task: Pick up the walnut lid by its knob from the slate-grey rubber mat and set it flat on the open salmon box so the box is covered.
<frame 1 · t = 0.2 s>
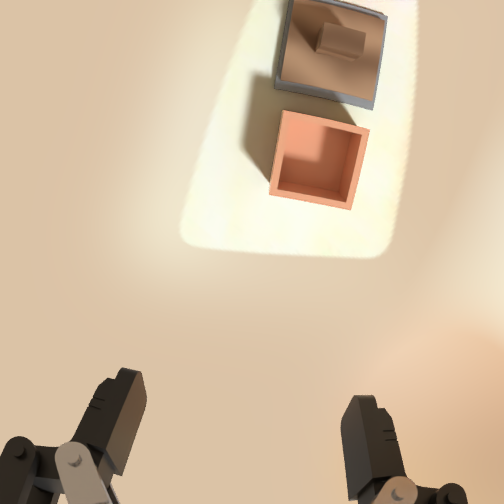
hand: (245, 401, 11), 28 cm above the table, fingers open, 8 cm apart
lid: (333, 47, 28), point 1 cm above the table, touching mat
mat: (332, 48, 29), on the table
open salmon box: (313, 153, 34), on the table
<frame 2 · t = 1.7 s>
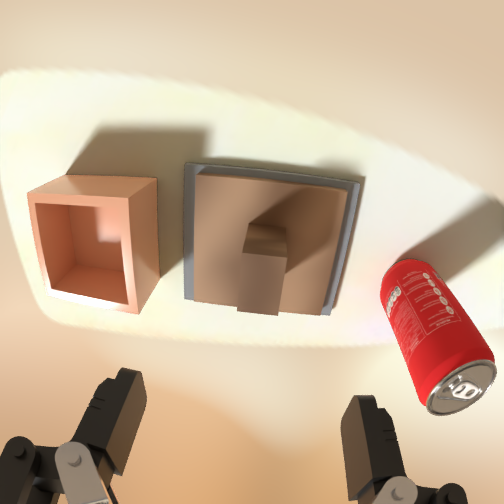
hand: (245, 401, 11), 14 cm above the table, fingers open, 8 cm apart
lid: (264, 246, 23), point 1 cm above the table, touching mat
mat: (264, 243, 24), on the table
open salmon box: (110, 226, 24), on the table
beverage can: (404, 280, 25), on the table
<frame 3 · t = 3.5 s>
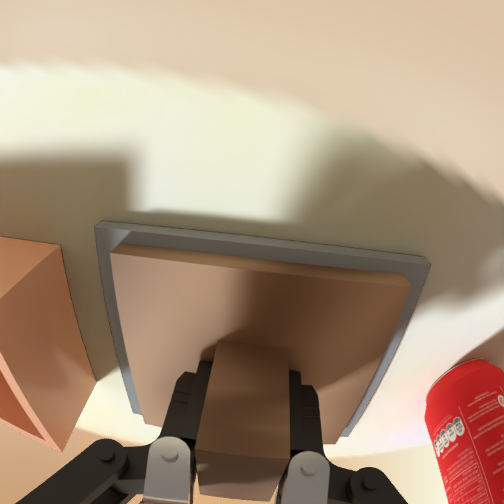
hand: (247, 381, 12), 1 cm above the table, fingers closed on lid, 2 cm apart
lid: (249, 365, 13), point 1 cm above the table, touching gripper, mat
mat: (250, 355, 13), on the table
open salmon box: (17, 308, 13), on the table
beverage can: (458, 383, 14), on the table
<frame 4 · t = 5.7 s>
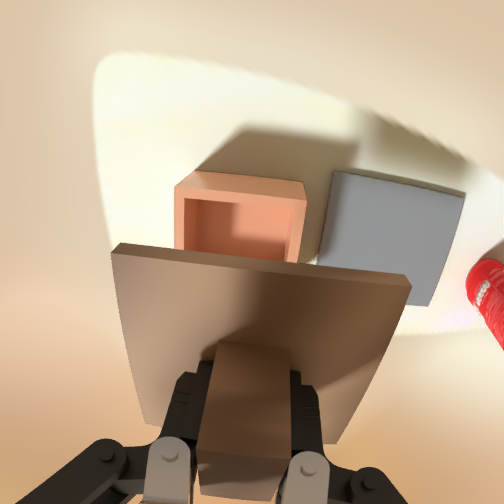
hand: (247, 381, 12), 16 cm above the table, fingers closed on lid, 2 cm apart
lid: (250, 365, 13), point 15 cm above the table, touching gripper
mat: (388, 245, 26), on the table
open salmon box: (243, 226, 26), on the table
beverage can: (481, 276, 26), on the table
when the fingers open (7 cm above the table, at t = 8.0 s): lid drops 1 cm, resting on open salmon box.
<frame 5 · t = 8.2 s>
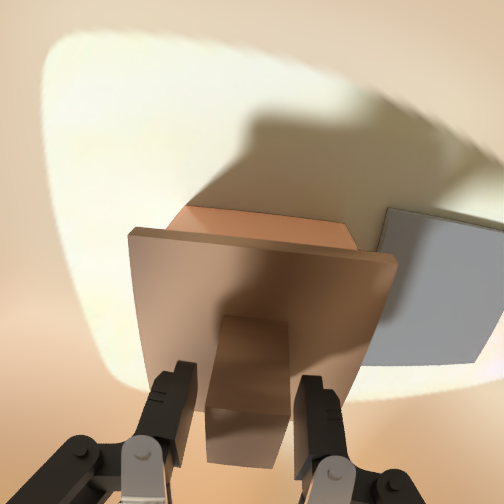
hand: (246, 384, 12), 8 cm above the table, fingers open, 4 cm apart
lid: (252, 341, 14), point 5 cm above the table, touching open salmon box
mat: (443, 300, 18), on the table
open salmon box: (256, 283, 18), on the table
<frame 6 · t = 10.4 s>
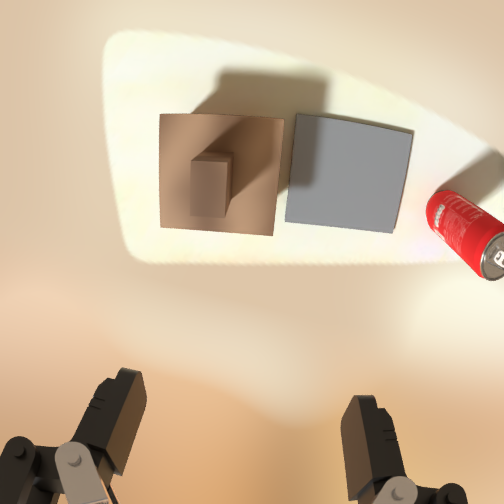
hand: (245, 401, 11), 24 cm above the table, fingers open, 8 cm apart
lid: (218, 173, 26), point 5 cm above the table, touching open salmon box
mat: (349, 175, 31), on the table
beverage can: (440, 208, 32), on the table
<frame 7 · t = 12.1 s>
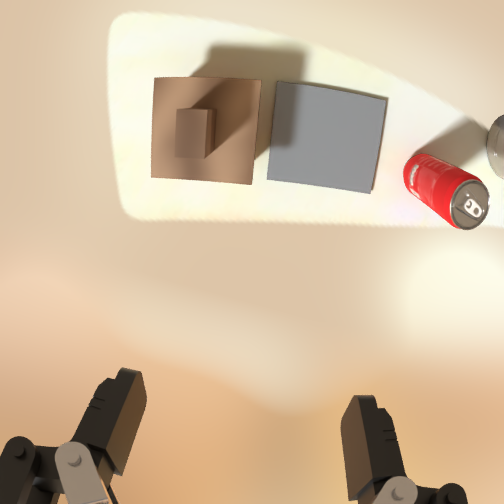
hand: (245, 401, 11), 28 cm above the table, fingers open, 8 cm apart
lid: (204, 128, 29), point 5 cm above the table, touching open salmon box
mat: (326, 137, 33), on the table
beverage can: (418, 172, 34), on the table
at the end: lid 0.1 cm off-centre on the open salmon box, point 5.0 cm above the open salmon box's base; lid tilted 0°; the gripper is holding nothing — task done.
